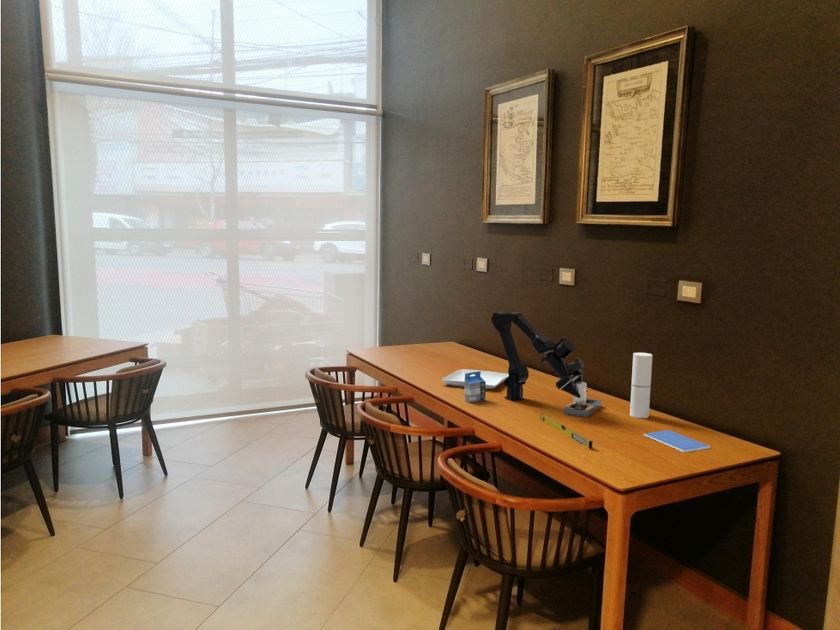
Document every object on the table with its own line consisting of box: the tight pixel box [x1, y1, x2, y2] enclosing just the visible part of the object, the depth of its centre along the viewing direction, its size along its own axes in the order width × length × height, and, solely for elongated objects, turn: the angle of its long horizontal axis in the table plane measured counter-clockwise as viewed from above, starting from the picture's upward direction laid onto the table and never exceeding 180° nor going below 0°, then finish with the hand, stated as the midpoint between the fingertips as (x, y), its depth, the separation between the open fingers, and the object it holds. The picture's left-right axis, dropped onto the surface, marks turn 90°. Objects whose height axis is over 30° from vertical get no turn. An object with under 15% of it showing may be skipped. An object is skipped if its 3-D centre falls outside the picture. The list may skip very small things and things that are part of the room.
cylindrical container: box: [629, 352, 653, 419], centre depth 247 cm, size 7×7×25 cm
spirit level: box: [540, 413, 594, 449], centre depth 225 cm, size 33×1×3 cm, turn 18°
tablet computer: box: [643, 429, 711, 453], centre depth 218 cm, size 19×13×1 cm, turn 24°
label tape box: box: [464, 370, 486, 404], centre depth 268 cm, size 9×4×12 cm, turn 123°
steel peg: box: [572, 381, 588, 410], centre depth 251 cm, size 5×5×12 cm
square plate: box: [441, 368, 509, 390], centre depth 301 cm, size 27×27×4 cm
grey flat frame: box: [563, 397, 602, 418], centre depth 256 cm, size 20×10×3 cm, turn 148°
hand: (583, 394), depth 250 cm, fingers open, 9 cm apart
